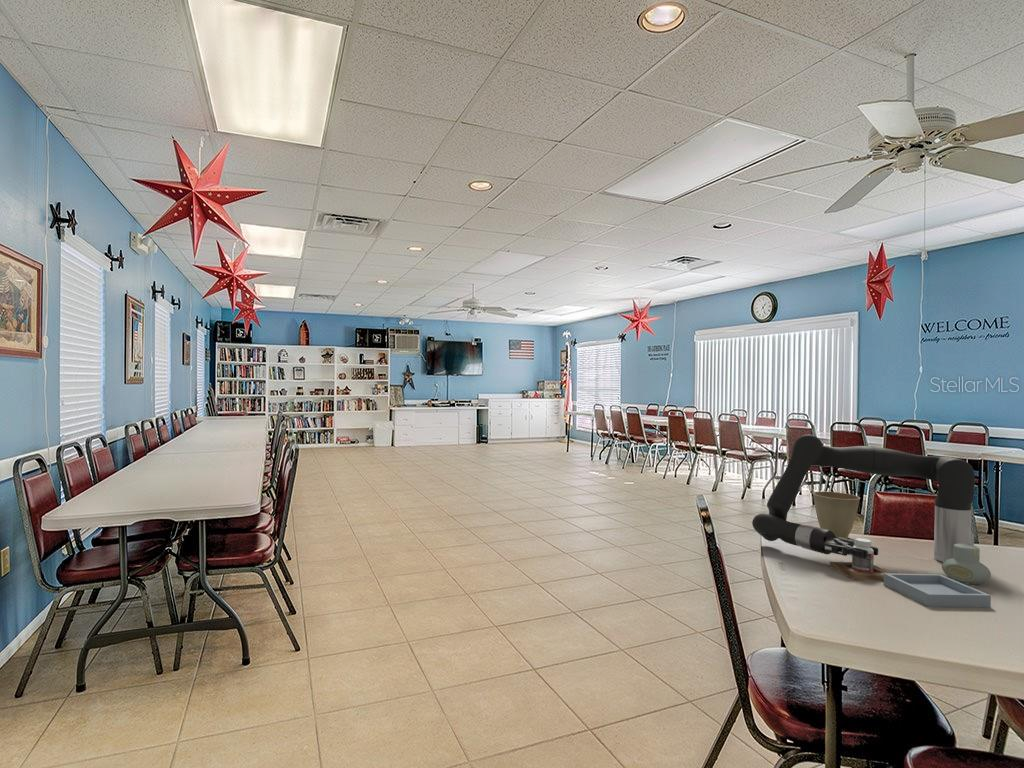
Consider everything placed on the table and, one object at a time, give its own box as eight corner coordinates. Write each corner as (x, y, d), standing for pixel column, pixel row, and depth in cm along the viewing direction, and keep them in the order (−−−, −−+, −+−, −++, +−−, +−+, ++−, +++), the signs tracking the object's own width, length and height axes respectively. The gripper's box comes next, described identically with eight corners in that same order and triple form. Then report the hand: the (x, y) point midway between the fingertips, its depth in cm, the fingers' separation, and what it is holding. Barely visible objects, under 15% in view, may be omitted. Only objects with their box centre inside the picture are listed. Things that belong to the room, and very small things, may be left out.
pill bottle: (875, 577, 160) (876, 543, 160) (854, 574, 162) (855, 541, 162) (870, 571, 165) (870, 538, 165) (849, 569, 167) (850, 536, 167)
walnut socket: (868, 567, 170) (868, 562, 170) (896, 580, 158) (896, 575, 158) (829, 566, 169) (829, 561, 169) (855, 580, 157) (855, 574, 157)
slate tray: (939, 585, 155) (939, 574, 155) (990, 607, 139) (990, 595, 139) (883, 584, 155) (883, 573, 155) (928, 606, 139) (928, 594, 139)
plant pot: (804, 536, 205) (805, 493, 206) (823, 531, 214) (823, 490, 215) (848, 546, 194) (849, 500, 194) (866, 540, 203) (866, 496, 203)
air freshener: (995, 584, 157) (996, 549, 157) (983, 589, 153) (983, 553, 153) (949, 573, 166) (950, 539, 166) (936, 577, 162) (937, 543, 162)
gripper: (802, 529, 172) (860, 543, 158) (827, 524, 180) (885, 537, 165) (801, 553, 172) (859, 569, 158) (827, 547, 180) (884, 562, 165)
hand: (872, 553), depth 161 cm, fingers closed on pill bottle, 5 cm apart
